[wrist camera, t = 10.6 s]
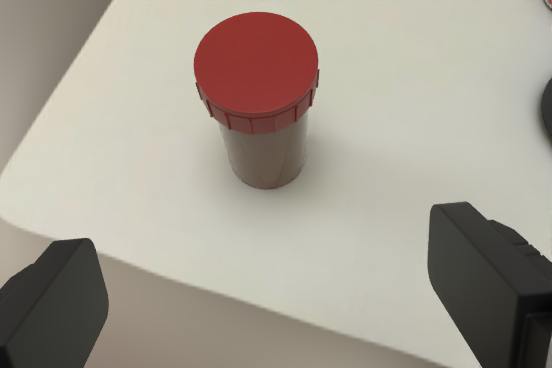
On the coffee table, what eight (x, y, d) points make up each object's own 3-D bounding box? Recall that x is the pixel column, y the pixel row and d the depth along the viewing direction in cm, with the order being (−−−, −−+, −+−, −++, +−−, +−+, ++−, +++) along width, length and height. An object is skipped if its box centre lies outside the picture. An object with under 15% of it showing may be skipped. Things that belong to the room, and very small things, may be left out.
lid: (329, 51, 22) (332, 24, 21) (299, 148, 20) (300, 127, 19) (222, 28, 23) (217, 1, 21) (183, 119, 21) (173, 97, 19)
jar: (229, 191, 28) (200, 109, 20) (229, 123, 30) (204, 21, 21) (307, 187, 28) (314, 104, 19) (303, 119, 30) (307, 16, 21)
